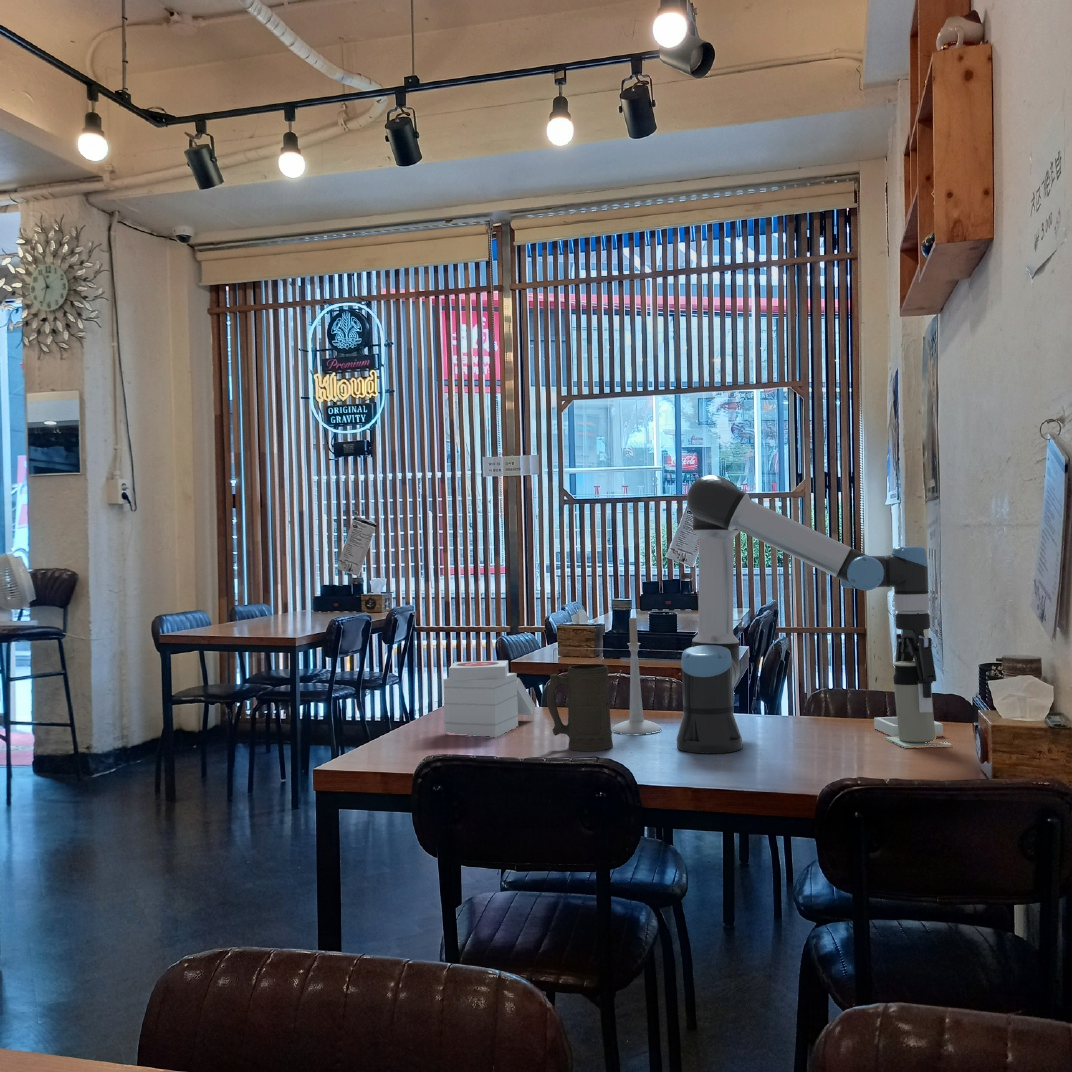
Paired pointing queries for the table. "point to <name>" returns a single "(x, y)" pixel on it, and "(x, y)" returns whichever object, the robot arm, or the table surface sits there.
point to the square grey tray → (891, 726)
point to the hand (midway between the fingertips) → (916, 708)
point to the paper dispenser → (484, 699)
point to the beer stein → (583, 707)
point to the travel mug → (911, 706)
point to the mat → (906, 744)
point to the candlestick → (635, 693)
